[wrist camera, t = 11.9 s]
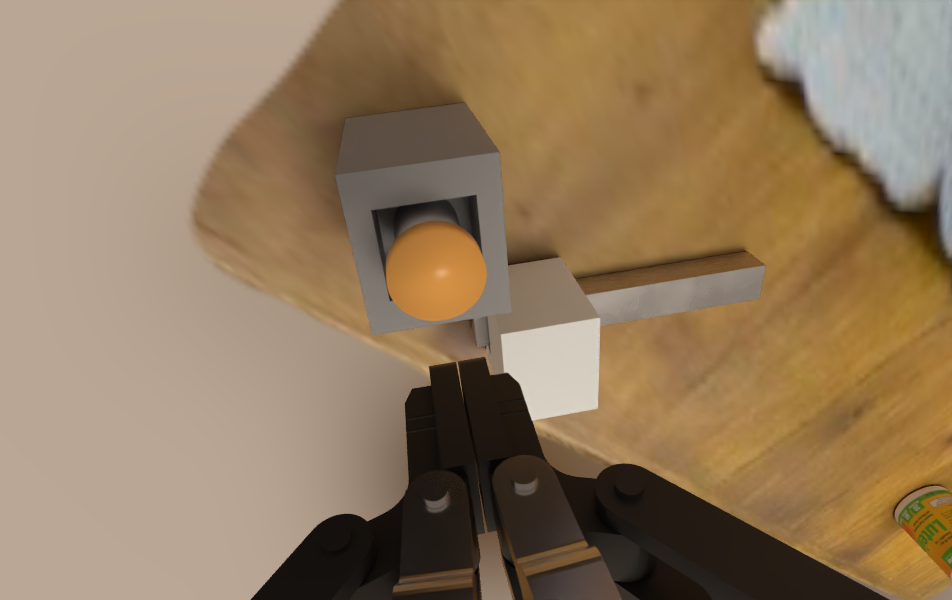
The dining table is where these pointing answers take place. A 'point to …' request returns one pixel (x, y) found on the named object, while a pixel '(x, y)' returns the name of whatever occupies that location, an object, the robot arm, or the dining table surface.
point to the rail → (665, 289)
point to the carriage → (548, 340)
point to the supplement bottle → (929, 523)
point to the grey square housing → (421, 198)
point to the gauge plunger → (433, 263)
